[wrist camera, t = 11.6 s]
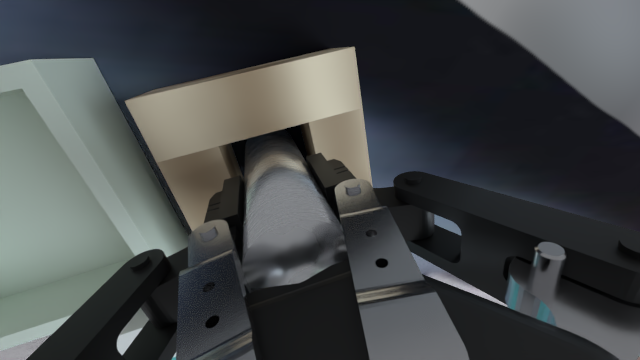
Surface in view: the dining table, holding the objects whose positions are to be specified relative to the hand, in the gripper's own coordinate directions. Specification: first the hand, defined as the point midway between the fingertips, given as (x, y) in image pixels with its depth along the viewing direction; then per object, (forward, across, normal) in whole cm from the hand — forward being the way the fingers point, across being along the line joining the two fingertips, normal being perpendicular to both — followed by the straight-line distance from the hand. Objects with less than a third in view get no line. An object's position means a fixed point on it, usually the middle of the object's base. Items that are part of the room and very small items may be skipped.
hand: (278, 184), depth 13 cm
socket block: (+5, 0, 0) cm, 5 cm away
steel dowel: (+5, 0, 0) cm, 5 cm away
